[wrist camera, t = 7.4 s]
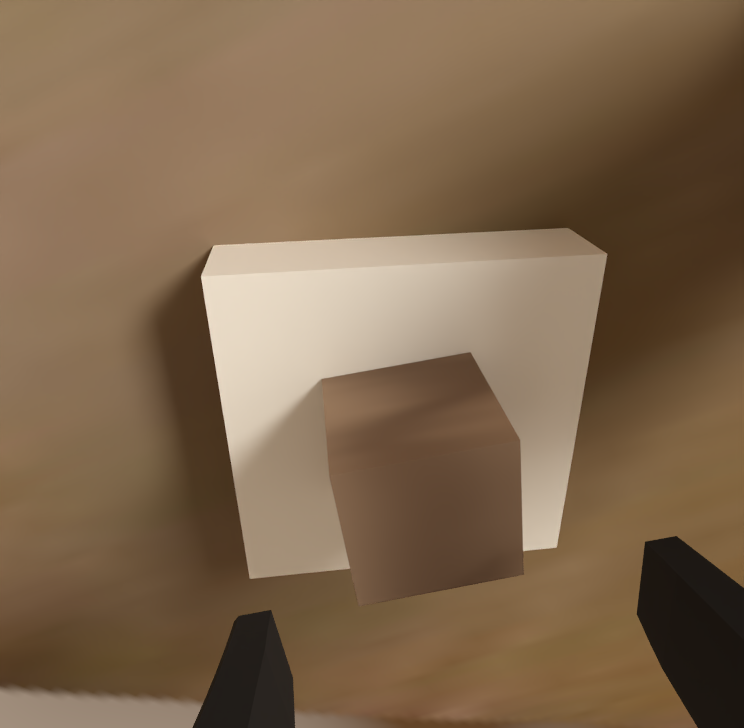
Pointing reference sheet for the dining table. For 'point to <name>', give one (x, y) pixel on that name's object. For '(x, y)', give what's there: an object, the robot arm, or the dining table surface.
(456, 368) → the walnut cube
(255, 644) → the robot arm
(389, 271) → the cream block
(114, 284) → the dining table surface
